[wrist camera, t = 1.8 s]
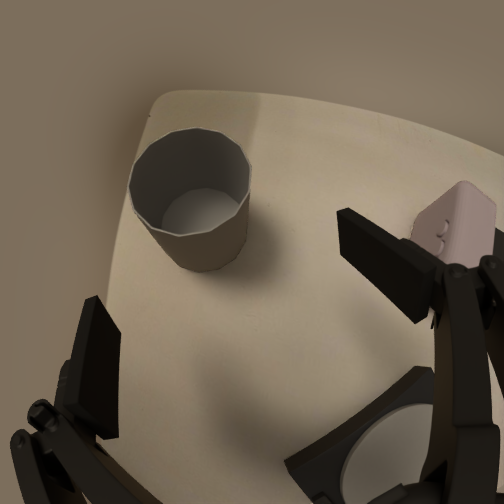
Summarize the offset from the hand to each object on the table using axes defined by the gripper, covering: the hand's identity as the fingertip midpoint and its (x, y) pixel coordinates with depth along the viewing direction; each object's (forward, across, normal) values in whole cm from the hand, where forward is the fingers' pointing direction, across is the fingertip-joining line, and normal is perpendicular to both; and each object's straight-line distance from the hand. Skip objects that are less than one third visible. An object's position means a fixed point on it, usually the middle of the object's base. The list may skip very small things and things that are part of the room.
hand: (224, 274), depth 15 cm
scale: (-7, +8, -24) cm, 26 cm away
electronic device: (+7, +20, -11) cm, 24 cm away
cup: (+14, 0, -4) cm, 14 cm away
